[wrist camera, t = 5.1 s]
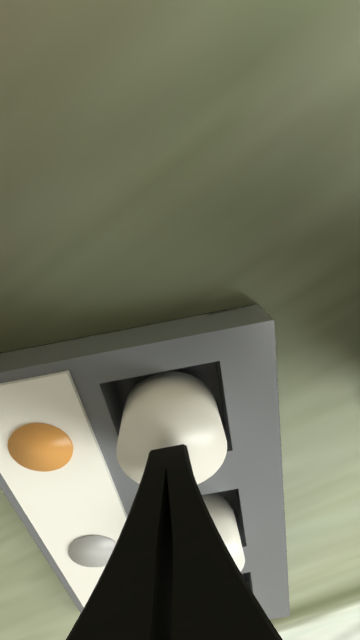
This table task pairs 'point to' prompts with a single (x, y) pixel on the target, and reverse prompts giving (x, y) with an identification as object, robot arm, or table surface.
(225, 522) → the button
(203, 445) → the button
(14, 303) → the table surface
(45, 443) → the button board
